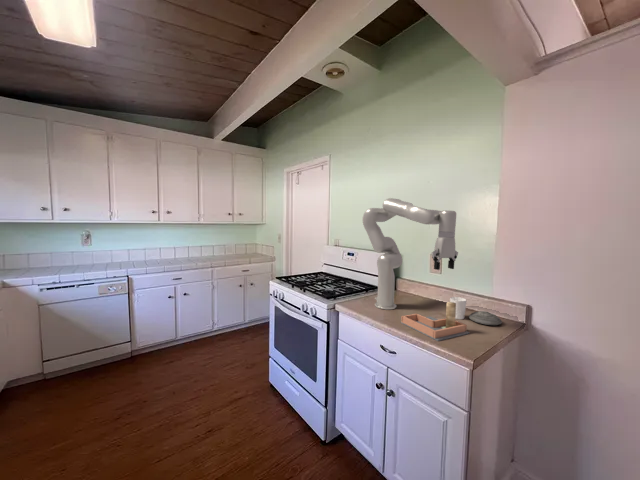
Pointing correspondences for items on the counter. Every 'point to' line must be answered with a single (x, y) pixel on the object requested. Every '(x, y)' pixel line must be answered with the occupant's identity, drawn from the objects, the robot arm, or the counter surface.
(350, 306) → the counter surface
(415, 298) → the counter surface
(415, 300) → the counter surface
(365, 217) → the robot arm
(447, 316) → the peg
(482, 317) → the flying saucer
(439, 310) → the counter surface
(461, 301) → the white cup
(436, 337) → the track
